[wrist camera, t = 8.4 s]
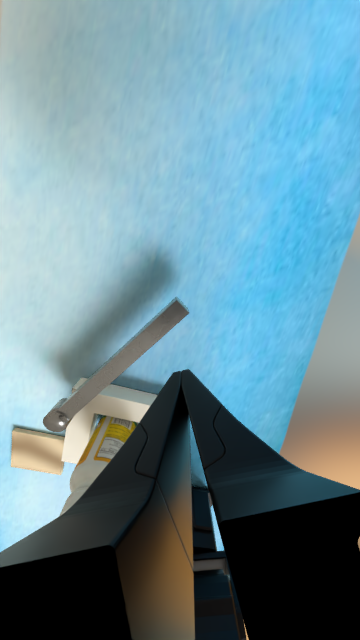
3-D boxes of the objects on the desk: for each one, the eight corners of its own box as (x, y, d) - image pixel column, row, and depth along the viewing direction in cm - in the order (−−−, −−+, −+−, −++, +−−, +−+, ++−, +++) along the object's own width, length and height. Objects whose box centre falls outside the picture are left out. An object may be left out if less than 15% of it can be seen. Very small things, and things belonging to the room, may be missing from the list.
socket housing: (150, 460, 25) (149, 476, 23) (70, 445, 24) (61, 461, 22) (173, 398, 22) (172, 410, 20) (81, 377, 21) (72, 388, 19)
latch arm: (70, 418, 20) (57, 435, 18) (53, 406, 19) (38, 422, 17) (190, 311, 16) (192, 316, 14) (173, 293, 16) (173, 296, 14)
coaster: (62, 471, 25) (60, 474, 25) (14, 462, 25) (10, 466, 24) (68, 437, 24) (65, 441, 23) (15, 427, 23) (12, 430, 22)
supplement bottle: (132, 403, 22) (101, 497, 13) (144, 433, 24) (124, 535, 14) (94, 412, 22) (37, 510, 13) (108, 440, 24) (66, 546, 15)
